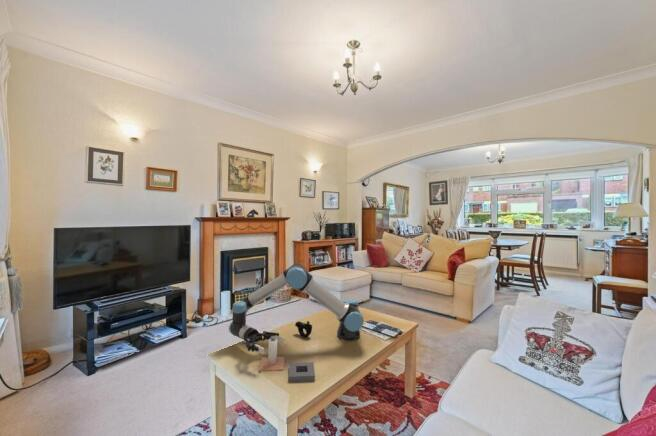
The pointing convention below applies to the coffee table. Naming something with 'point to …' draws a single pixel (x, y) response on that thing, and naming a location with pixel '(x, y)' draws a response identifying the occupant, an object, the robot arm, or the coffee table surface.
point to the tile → (278, 366)
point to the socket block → (301, 372)
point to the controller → (304, 326)
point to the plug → (272, 351)
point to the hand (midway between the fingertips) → (274, 346)
